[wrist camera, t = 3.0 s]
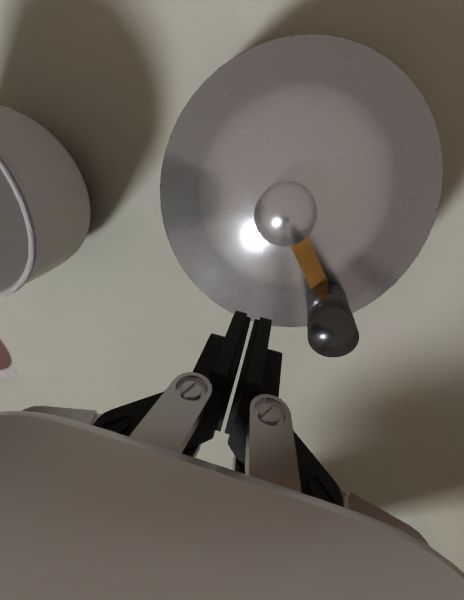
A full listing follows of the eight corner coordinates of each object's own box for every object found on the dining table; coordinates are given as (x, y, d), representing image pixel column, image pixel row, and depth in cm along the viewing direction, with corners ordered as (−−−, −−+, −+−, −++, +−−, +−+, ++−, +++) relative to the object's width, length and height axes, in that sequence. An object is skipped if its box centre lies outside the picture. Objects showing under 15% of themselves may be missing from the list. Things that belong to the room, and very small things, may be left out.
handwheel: (459, 264, 15) (532, 312, 11) (239, 340, 21) (220, 395, 16) (377, -42, 11) (435, -193, 6) (126, 154, 16) (55, 153, 12)
